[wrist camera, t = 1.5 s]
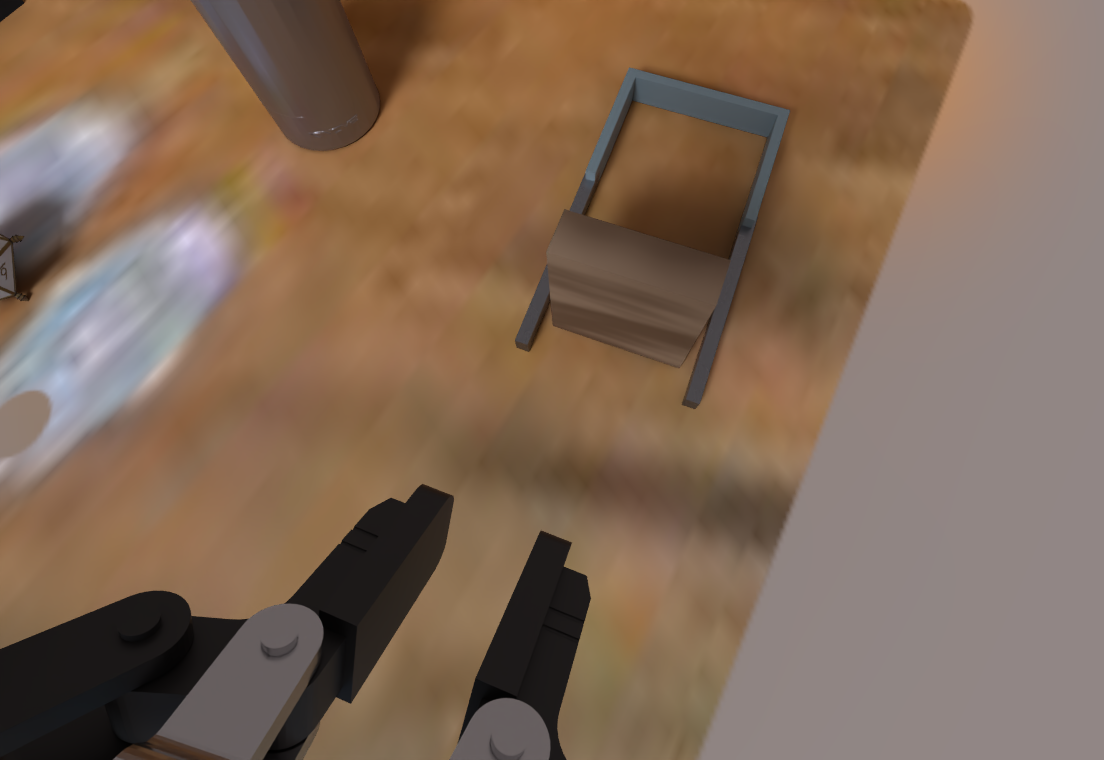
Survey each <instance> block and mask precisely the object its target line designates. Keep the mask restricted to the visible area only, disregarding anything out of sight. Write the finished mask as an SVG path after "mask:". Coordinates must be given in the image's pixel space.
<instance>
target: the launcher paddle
mask: <svg viewBox="0 0 1104 760" xmlns="http://www.w3.org/2000/svg"><path fill="white" fill-rule="evenodd" d="M546 254H547V265H548V277H549V288H550V299H551V311H552V322H553V326H555V327H558V328H561V329H564V330H567V331H570V332H573V333H576V334H579V335H582V336H585V337H588V338H591V339H594V340H597V341H600V342H603V343H606V344H609V345H612V346H615V347H618V348H621V349H624V350H626V351H629V352H632V353H635V354H638V355H641V356H644V357H647V358H650V359H653V360H656V361H659V362H662V363H665V364H668V365H671V366H674V367H677V368H680V366H681V365H682V363H683V361H684V360H685V358H686V356H687V355H688V353H689V351H690V349H691V348H692V346H693V344H694V343H695V341H696V339H697V338H698V336H699V334H700V333H701V331H702V329H703V327H704V326H705V324H706V322H707V321H708V319H709V317H710V316H711V314H712V312H713V311H714V309H715V307H716V305H717V302H718V299H719V296H720V293H721V289H722V286H723V283H724V280H725V277H726V274H727V271H728V267H729V264H730V261H731V260H729V259H725V258H722V257H719V256H716V255H712V254H709V253H706V252H703V251H699V250H696V249H693V248H690V247H686V246H683V245H680V244H676V243H673V242H670V241H667V240H663V239H660V238H657V237H654V236H650V235H647V234H644V233H641V232H637V231H634V230H631V229H627V228H624V227H621V226H618V225H614V224H611V223H608V222H605V221H601V220H598V219H595V218H592V217H588V216H585V215H582V214H578V213H575V212H572V211H569V210H565V209H564V212H563V214H562V216H561V219H560V221H559V223H558V226H557V228H556V230H555V233H554V235H553V238H552V240H551V242H550V245H549V247H548V249H547V252H546Z"/></svg>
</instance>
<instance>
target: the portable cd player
mask: <svg viewBox="0 0 1104 760" xmlns="http://www.w3.org/2000/svg"><path fill="white" fill-rule="evenodd" d="M23 4H24V2H23V1H22V0H0V22H1V21H2V20H3V19H5V18H6V17H7V16H9V15H10V14H11V13H12V12H14V11H15V10H16V9H17V8H19V7H20V6H21V5H23Z"/></svg>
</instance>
